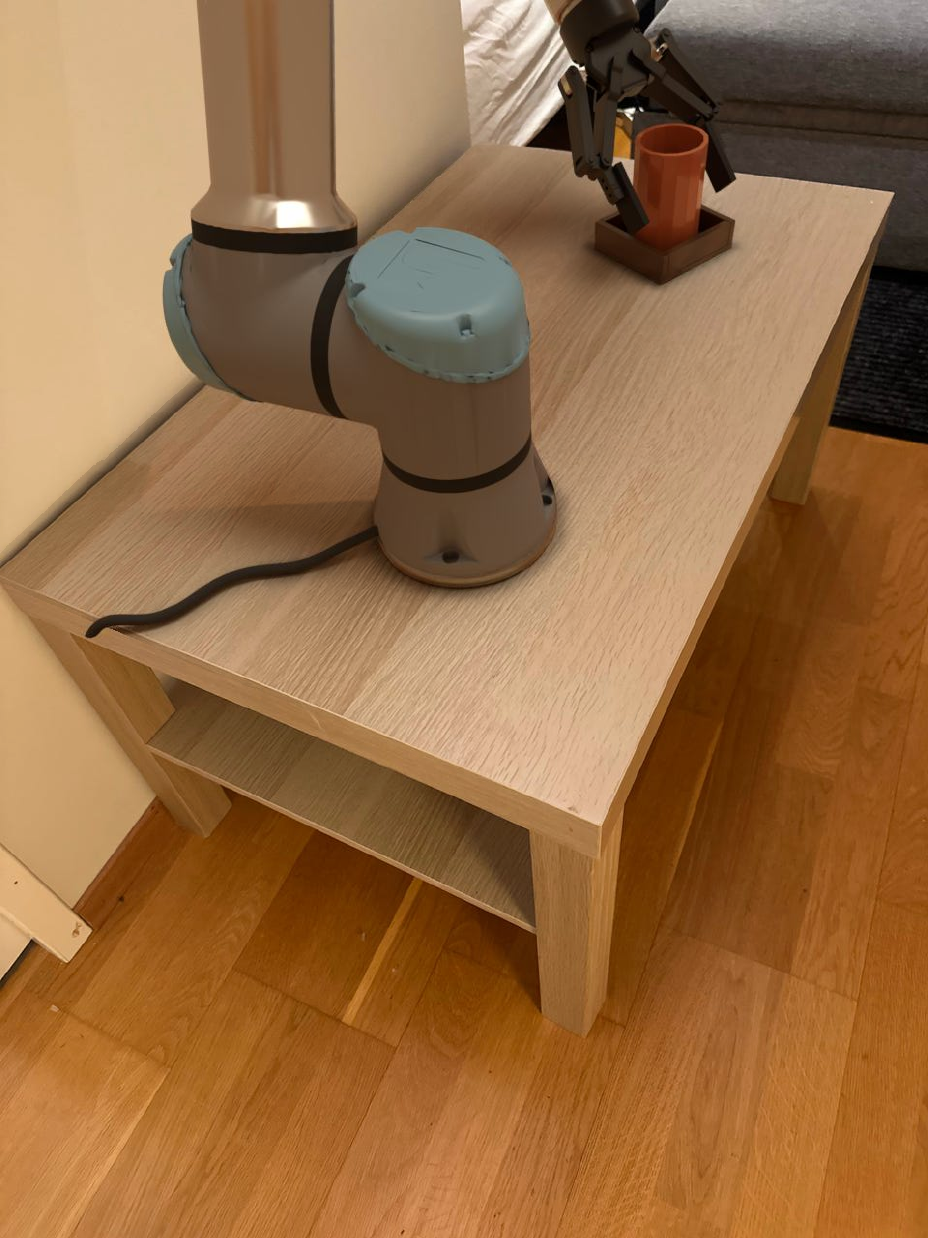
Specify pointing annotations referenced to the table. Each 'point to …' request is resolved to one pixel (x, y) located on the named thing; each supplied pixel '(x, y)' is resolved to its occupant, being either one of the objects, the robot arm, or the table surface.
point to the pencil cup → (670, 182)
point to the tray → (673, 262)
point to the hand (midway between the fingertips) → (684, 207)
